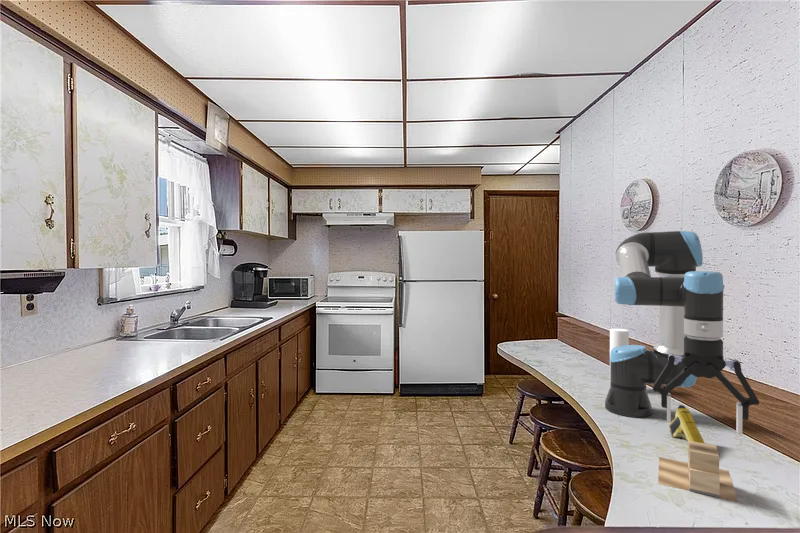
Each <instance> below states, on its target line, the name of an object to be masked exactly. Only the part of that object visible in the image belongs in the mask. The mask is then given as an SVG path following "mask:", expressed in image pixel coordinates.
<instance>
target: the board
mask: <svg viewBox="0 0 800 533" xmlns="http://www.w3.org/2000/svg"><path fill="white" fill-rule="evenodd" d="M657 475H658V482H657V483H658V484H659V485H662V486H666V487H671V488H676V489H679V490H684V491H689V492H691V491H690V487H689V479H688V461H687V462H686V461H681V460H676V459H672V458H666V457H660V456H658V474H657ZM719 475H720V499H722V500H723V499H724V500H729V501H733V502H737V503H739V501H738V498H737V494H736V491H735V488H734V484H733V481H732V478H731V474H730V471H729V470H726V469H721V468H719Z"/></svg>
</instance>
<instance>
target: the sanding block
mask: <svg viewBox="0 0 800 533" xmlns="http://www.w3.org/2000/svg"><path fill="white" fill-rule="evenodd" d="M687 443H688V445H687V446H688V448H687V449H688V451H687V463H688V479H689V487H690V491H689V492H693V493H696V494H697V493H698V494H701V495H705V496H706V495H707V496H710V497H715V498H718V499H719V498H720V475H719V469H720V455H719V450H718V448H717V445H715V444H708V443H705V444H703V443H698V442H692V441H687ZM720 499H721V498H720Z"/></svg>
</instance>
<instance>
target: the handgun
mask: <svg viewBox="0 0 800 533" xmlns="http://www.w3.org/2000/svg"><path fill="white" fill-rule="evenodd" d="M668 428H669V433H670V435H671V438H672V439H676V440H683V438H685V440H686V441H687V442H688V441H692V442H698V443H703V444H706V443H705V440H704V439H703V437H702V435H701V433H700V432H701V431H700V430H699V429H698V427H697V425H696V422H695V419H694V418H693V416H692V413H691V411H690V410H689V408H686V406H685V405H682V404H679V405H678V407H677V409H675V415H674V419H673V420H671V423H668Z"/></svg>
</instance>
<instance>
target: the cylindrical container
mask: <svg viewBox="0 0 800 533" xmlns="http://www.w3.org/2000/svg"><path fill="white" fill-rule="evenodd" d="M629 337H630V332H629V329H624V328H610V329H609V354H610V353H611V350H612V349H613V348H614V347H617V346H623V345H630V343H629V340H630V338H629Z"/></svg>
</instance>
